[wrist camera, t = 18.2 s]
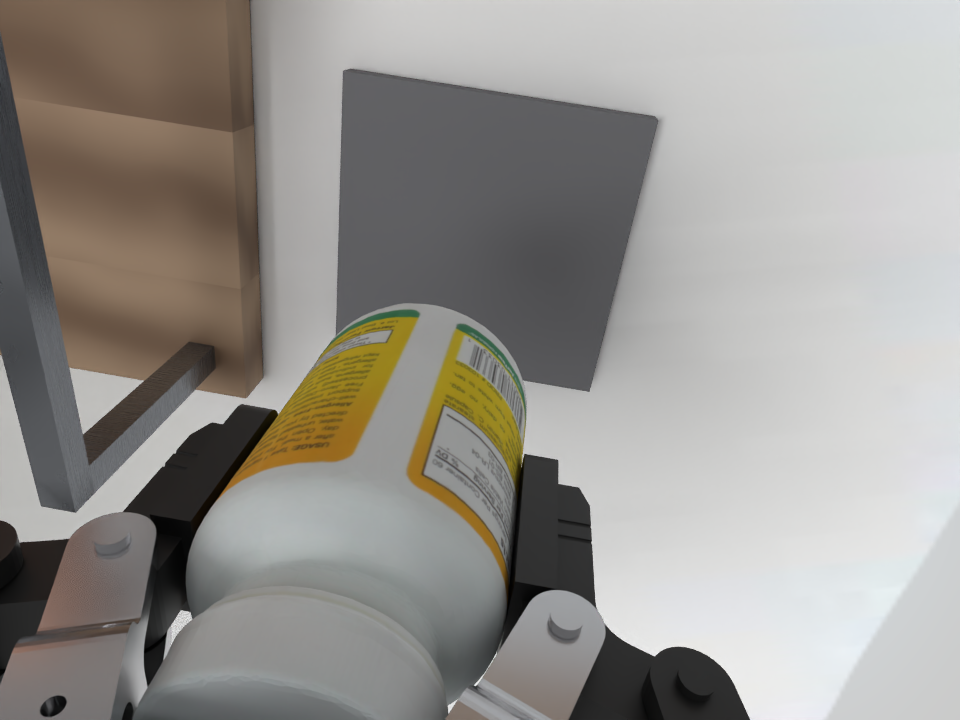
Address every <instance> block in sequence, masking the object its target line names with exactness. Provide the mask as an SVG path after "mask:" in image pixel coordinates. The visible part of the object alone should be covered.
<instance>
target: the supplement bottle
mask: <svg viewBox="0 0 960 720" xmlns="http://www.w3.org/2000/svg"><path fill="white" fill-rule="evenodd" d="M526 402H527V401H526V393H525V387H524V384H523V380H522V377H521V374H520V372H519V369H518V367H517V365H516V363H515V361H514V359H513V358H512V356H511V355H510V353H509V352H508V350H507V349H506V347H505V346H504V345H503V344H502V343H501V342H500V341H499V339H498V338H497V337H496V336H495V335H494V334H492V333H491V332H490V331H489V330H488V329H487V328H485V327H484V326H483V325H481V324H479V323H478V322H476V321H475V320H473V319H471V318H469V317H468V316H466V315H463V314H461V313H459V312H456V311H454V310H451V309H448V308H444V307H440V306H436V305H429V304H413V303H403V304H397V305H393V306H389V307H385V308H382V309H378V310H376V311H373V312H371V313H368V314H366V315H364V316H361V317H360V318H358V319H356V320H355V321H353V322H352V323H350V324H349V325H347V326H346V327H345V328H344V329H343V330H342V331H340V332H339V333H338V334H337V335H336V337H335V338H334V339H333V340H332V341H331V343H330V344H329V345H328V347H327V348H326V349H325V350H324V351H323V353H322V354H321V355H320V357H319V359H318V360H317V362H316V363H315V365H314V366H313V367H312V369H311V370H310V371H309V373H308V374H307V376H306V377H305V379H304V380H303V381H302V383H301V384H300V386H299V387H298V388H297V390H296V391H295V393H294V394H293V395H292V397H291V398H290V400H289V401H288V402H287V404H286V405H285V406H284V408H283V409H282V411H281V412H280V413H279V415H278V416H277V418H276V419H275V421H274V422H273V423H272V425H271V426H270V427H269V429H268V430H267V431H266V433H265V434H264V435H263V437H262V438H261V440H260V441H259V443H258V444H257V445H256V447H255V448H254V450H253V451H252V452H251V454H250V455H249V456H248V458H247V459H246V461H245V462H244V463H243V465H242V466H241V467H240V468H239V470H238V471H237V472H236V474H235V475H234V476H233V478H232V479H231V481H230V482H229V484H228V485H227V487H226V488H225V489H224V491H223V492H222V493H221V495H220V496H219V498H218V499H217V500H216V502H215V503H214V504H213V506H212V507H211V509H210V510H209V512H208V513H207V515H206V516H205V518H204V519H203V521H202V523H201V525H200V526H199V528H198V530H197V532H196V534H195V537H194V539H193V542H192V545H191V548H190V551H189V555H188V561H187V567H186V591H187V599H188V604H189V608H190V612H191V615H192V619H193V620H191V621H190V622H189V623H188V624H187V625H185V626H184V627H183V629H182V630H181V631H180V632H179V633H178V635H177V636H176V638H175V640H174V641H173V643H172V645H171V647H170V649H169V651H168V654H167V656H166V657H165V659H164V661H163V662H162V664H161V666H160V667H159V669H158V671H157V673H156V674H155V676H154V678H153V679H152V681H151V683H150V684H149V686H148V688H147V690H146V691H145V693H144V695H143V696H142V698H141V700H140V702H139V704H138V706H137V709H136V711H135V713H134V716H133V719H132V720H445V719H446V717H447V716H448V707H447V706H448V705H449V704H451V703H453V702H454V701H456V700H457V699H458V698H459V697H460V696H461V694H462V693H463V692H464V690H465V689H466V688H467V687H468V686H470V685H474V684H475V683H476V682H477V681H478V680H479V679H480V678H481V676H482V675H483V674H484V673H485V671H486V669H487V668H488V666H489V665H490V663H491V661H492V660H493V658H494V656H495V654H496V652H497V649H498V647H499V644H500V641H501V638H502V634H503V631H504V627H505V620H506V613H507V606H508V595H509V586H510V576H511V565H512V556H513V546H514V537H515V526H516V516H517V505H518V494H519V485H520V475H521V465H522V454H523V444H524V436H525V425H526Z"/></svg>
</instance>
